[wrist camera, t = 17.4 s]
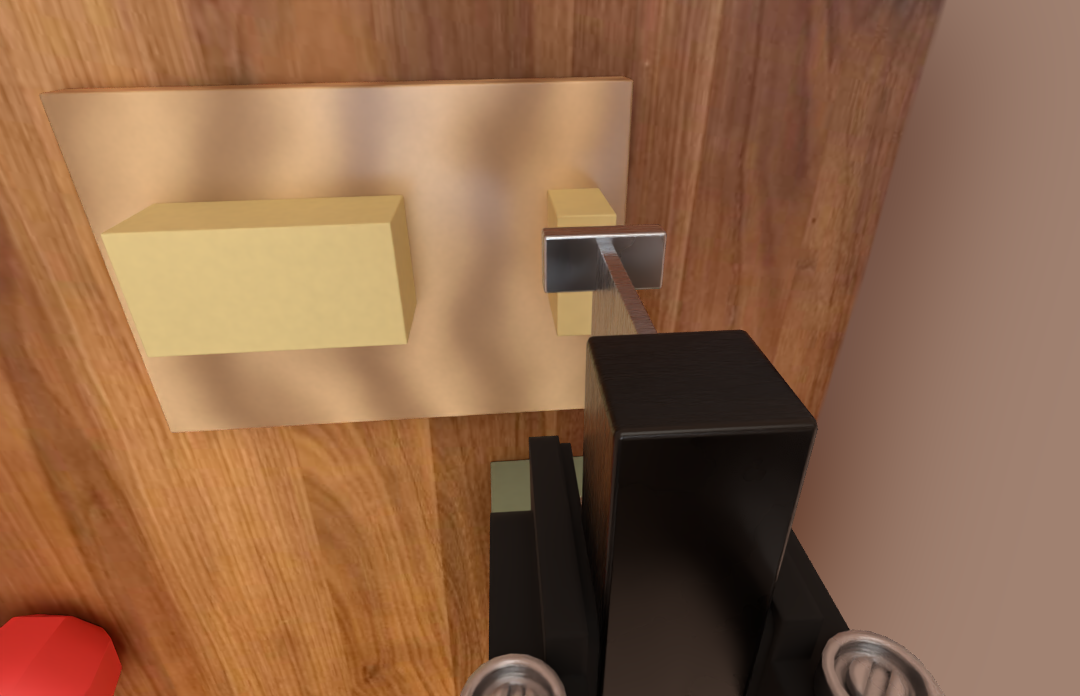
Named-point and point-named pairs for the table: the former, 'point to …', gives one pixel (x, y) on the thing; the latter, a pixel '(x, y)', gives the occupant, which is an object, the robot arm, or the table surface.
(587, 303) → the butter slice
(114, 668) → the apple
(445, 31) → the table surface
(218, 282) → the butter stick
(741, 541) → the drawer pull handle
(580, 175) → the board
